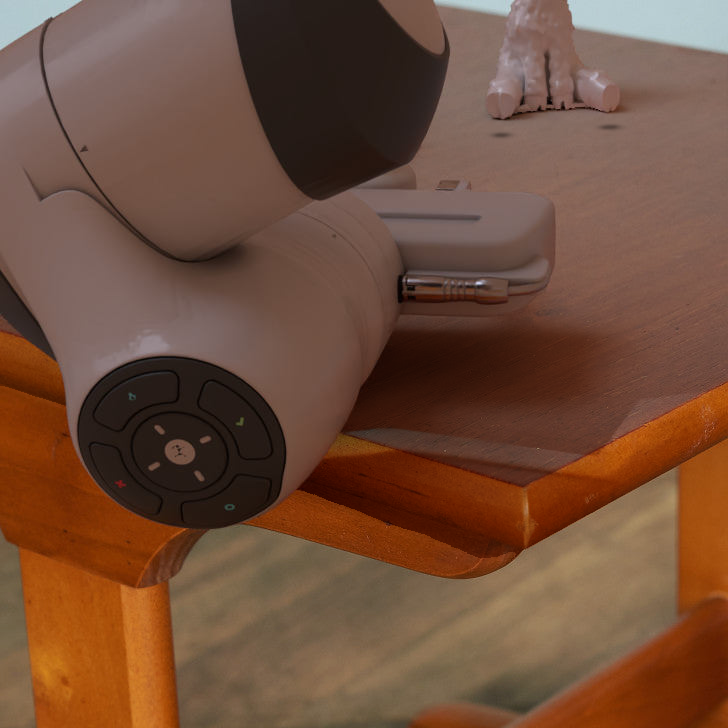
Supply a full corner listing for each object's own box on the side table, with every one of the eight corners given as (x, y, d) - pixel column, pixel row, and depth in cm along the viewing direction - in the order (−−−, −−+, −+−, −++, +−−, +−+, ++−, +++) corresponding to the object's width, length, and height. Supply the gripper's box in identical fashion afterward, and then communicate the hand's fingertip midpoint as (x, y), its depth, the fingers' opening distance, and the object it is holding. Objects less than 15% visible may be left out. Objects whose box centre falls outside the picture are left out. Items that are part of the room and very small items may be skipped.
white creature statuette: (488, 121, 113) (484, -64, 108) (461, 93, 120) (456, -81, 115) (622, 111, 115) (625, -71, 109) (588, 84, 122) (589, -88, 117)
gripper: (543, 222, 66) (574, 133, 78) (48, 210, 69) (153, 125, 81) (544, 369, 69) (573, 261, 81) (69, 353, 72) (167, 251, 84)
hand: (361, 194), depth 81 cm, fingers open, 8 cm apart
